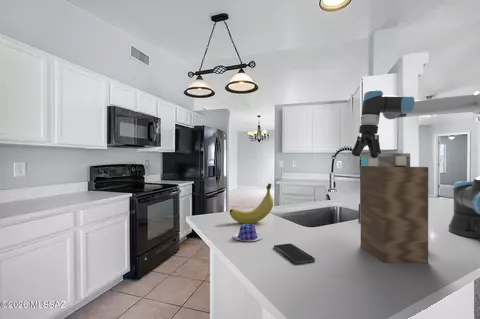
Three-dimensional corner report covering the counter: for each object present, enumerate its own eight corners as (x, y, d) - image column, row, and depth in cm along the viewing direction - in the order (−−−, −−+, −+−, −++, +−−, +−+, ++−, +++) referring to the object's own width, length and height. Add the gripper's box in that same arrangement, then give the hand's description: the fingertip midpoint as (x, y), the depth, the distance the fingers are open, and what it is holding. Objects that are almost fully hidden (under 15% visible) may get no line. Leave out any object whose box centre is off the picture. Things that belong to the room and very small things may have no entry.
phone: (295, 262, 71) (272, 245, 85) (295, 266, 71) (272, 248, 85) (316, 259, 73) (291, 243, 88) (316, 262, 73) (291, 246, 88)
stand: (398, 246, 87) (398, 154, 87) (428, 262, 73) (428, 153, 73) (360, 246, 87) (360, 154, 87) (383, 262, 73) (383, 152, 73)
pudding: (254, 232, 104) (254, 220, 104) (267, 240, 93) (267, 227, 93) (229, 235, 100) (229, 223, 100) (239, 244, 88) (239, 230, 89)
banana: (230, 225, 114) (230, 184, 114) (228, 222, 120) (229, 183, 120) (274, 223, 118) (274, 184, 118) (270, 220, 124) (271, 182, 124)
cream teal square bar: (369, 166, 97) (369, 158, 97) (406, 166, 75) (406, 155, 75) (361, 166, 97) (361, 158, 97) (396, 166, 75) (396, 155, 75)
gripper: (348, 126, 120) (342, 167, 121) (377, 120, 95) (370, 172, 96) (362, 128, 120) (357, 169, 121) (395, 123, 95) (388, 174, 96)
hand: (362, 170), depth 109 cm, fingers open, 13 cm apart
